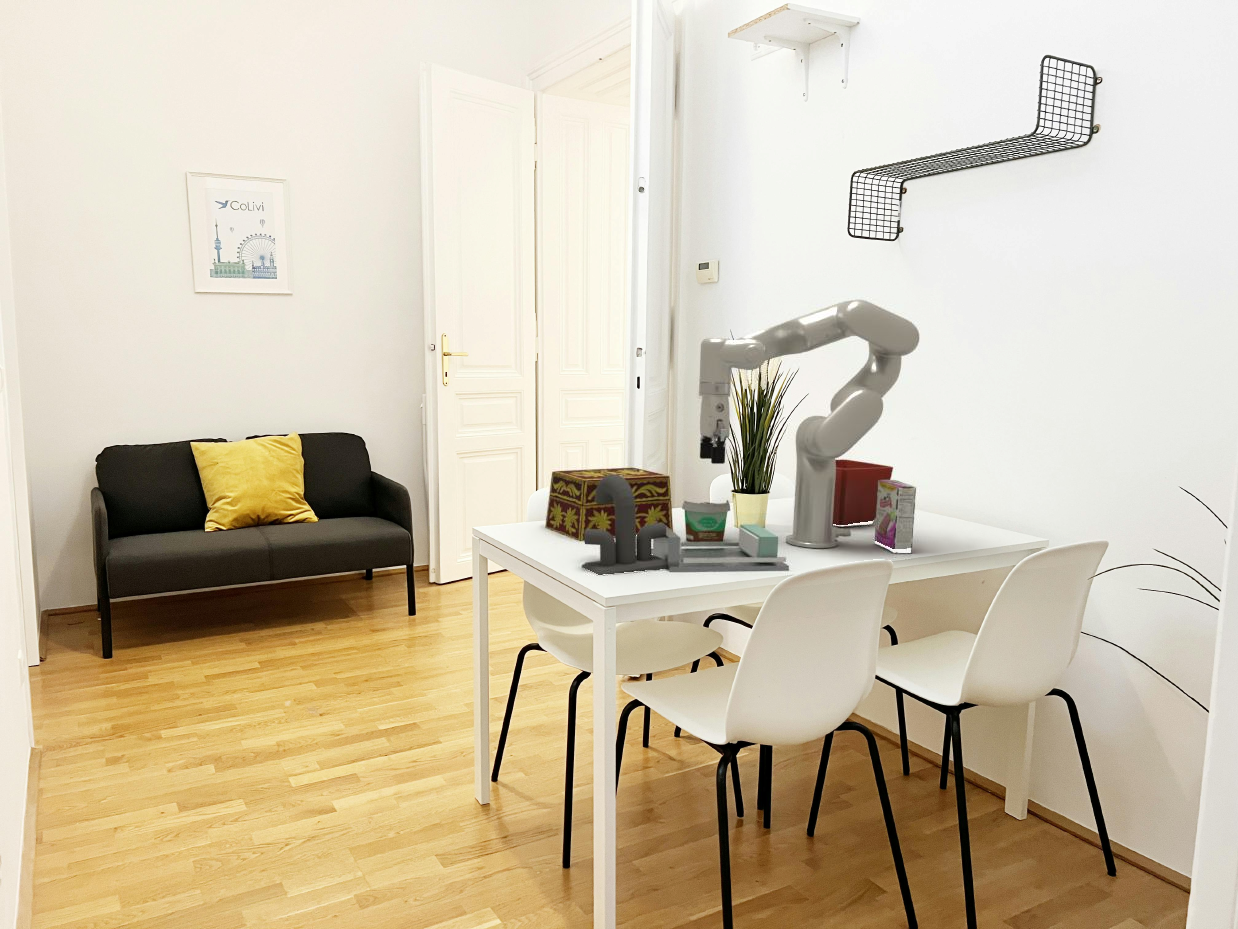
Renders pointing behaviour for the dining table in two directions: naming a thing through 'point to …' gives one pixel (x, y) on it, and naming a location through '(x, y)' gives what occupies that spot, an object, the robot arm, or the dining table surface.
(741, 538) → the block
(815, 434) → the robot arm
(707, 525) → the food container
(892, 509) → the candy bar box
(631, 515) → the faucet
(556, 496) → the decorative box
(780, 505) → the dining table surface
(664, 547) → the vise bed
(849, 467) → the plant pot
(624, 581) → the dining table surface
